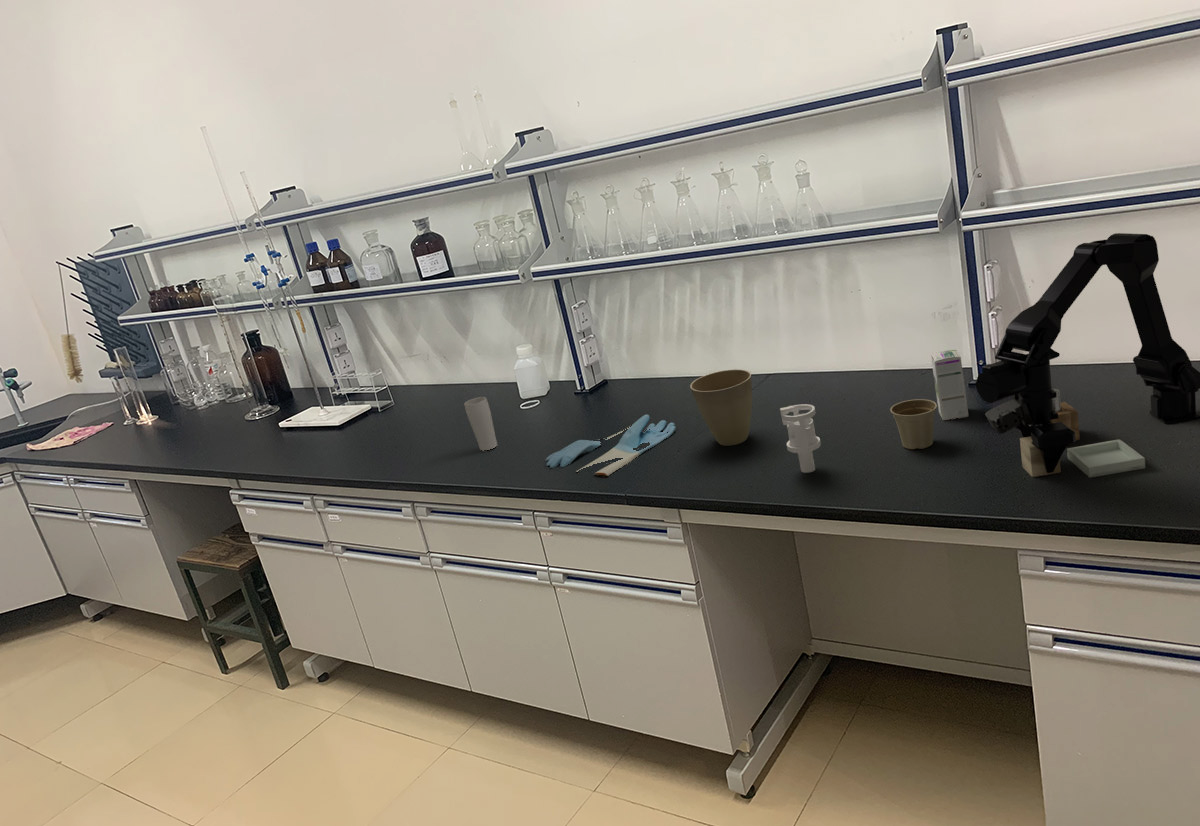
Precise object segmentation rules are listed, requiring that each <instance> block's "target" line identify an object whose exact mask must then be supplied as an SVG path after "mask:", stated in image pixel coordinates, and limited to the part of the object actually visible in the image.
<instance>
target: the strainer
mask: <svg viewBox="0 0 1200 826" xmlns="http://www.w3.org/2000/svg"><path fill="white" fill-rule="evenodd" d="M815 407H816V406H814V405H813V404H806V403H805V404H794V405H788V406H785V407H780V408H779V411H780V415H781V420H782V425H783V426H786V428H787V434H788V439H789V440H788V441H786V447H787V448H786V449H787V451H788V452H790V453H793V454H797V456H798V460H799V461H798V462H799V466H800V471H801V472H802V474H803V473H804V474H807V473H812V472H814V471H816V465H815V459H814V454H813V451H816V450H818V449H819V448H820V447H821V446H822V443H821V439H820V437H819V436H816V430H815V423H814V419H813V417H814V416H815V415H816V409H815ZM800 411H808V412H805V413H799V412H800ZM789 413H793V415H789ZM787 414H788V415H787Z"/></svg>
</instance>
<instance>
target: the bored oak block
mask: <svg viewBox="0 0 1200 826" xmlns="http://www.w3.org/2000/svg"><path fill="white" fill-rule="evenodd" d="M1060 403H1061V412H1057V413H1058V419H1052V420H1051V421H1050V422H1051V423H1057V422H1062V423H1064V424H1065V425H1067V426H1068V427H1069V428H1071V429H1072V430H1073V431H1074V432H1075V441H1079V440H1080V427H1079V426H1080V425H1079V424H1080V423H1079V412H1078V410H1076V409H1075V408H1074V407H1073V406H1072V405H1070V404H1069V403H1067V402H1066V401H1063V402H1061V401H1060Z"/></svg>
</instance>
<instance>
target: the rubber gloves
mask: <svg viewBox="0 0 1200 826" xmlns="http://www.w3.org/2000/svg"><path fill="white" fill-rule="evenodd" d="M649 421H650V415H649V414H644V415H643V416H641V417H640V418H638V419H637V420H636V421H635V422H634V423H633V424H632V426H631V425H630V426H631V427H630V426H628V427H629V428H628V427H626V428H627V429H628V430H627V431H626V432H625V433H624V434H622V435H621V436H622V437H621V438H620V439H619V441H618V442H617V444H616V445H615V446H614V447H612V448H611V449H610V450H608V451H607V452H605V453H604V454H602V455H600V456H599V457H597V458H596V459H595V460H594V459H593V461H591V462H589V463H587V464H586V465H584V466H582V467H581V468H579V469H578V470H575V473H576V472H578V471H579V470H581V469H583V468H586V467H589V466H592V465H593V464H597V463H601V462H605V461H608V460H612V459H615V458H623V459H621V460H618V461H616V462H611V463H610V464H608V465H606V466H605V467H602V468H601V469H599V470H598V471H596V472H594V473H593V475H594V474H599V475H605V476H609V475H610V474H612V473H613V472H615V471H616V470H618V469H619V468H622V467H623V466H624V465H626V464H627V465H629V464H630V463H632V462H633V461H634V460H636V459H637V458H638V456H639V455H640V456H641V455H642V454H643V453H644V452H646V451H649V450H651V449H653V448H654V446H655V445H657V444H658V443H660V442H661V441H663V440H664V439H666V438H667V439H668V438H669V437H671V436H672V435H673V434H674V433H675V431H676V430H677V428H676V424H675V423H674V422H670V423H668V424H667V421H666V420H664V419H662V420H660V421H659V422H658V423H657V424H655V423H650V424H649V425H648V423H649ZM646 425H648V426H647V427H646ZM645 427H646V429H647V430H646V429H645V430H646V431H645V430H644V431H645V432H644V431H643V429H644V428H645ZM626 428H624V429H625V430H626ZM624 429H622V430H623V431H624ZM649 429H650V430H649ZM663 429H664V430H663ZM622 430H620V431H619V432H616V433H617V434H616V433H614V434H612V435H610V436H608V437H606V438H607V439H605V438H604V439H605V440H608V439H610V438H612V437H614V436H616V435H618V434H620V433H622V432H623V431H622ZM661 430H663V432H660V431H661ZM667 432H668V433H667ZM667 439H666V440H667ZM664 441H665V440H664ZM664 441H663V442H664ZM648 442H649V443H650V445H649V446H647V447H646V448H644V449H643V448H641V449H640V450H639V449H638V450H639V451H636V450H633V448H637V447H638V446H639V445H640V444H642V443H648ZM600 443H601V442H600V441H593V440H587V439H578V440H576V441H573V442H572V443H570V444H569V445H566V446H565V447H564V448H561V449H560V450H558V451H555V452H553V453H552V454H550V455H548V456H547V457H546V458H545V460H544V462H545V461H547V460H549V461H548V462H546V464H545V466H546V467H547V466H549V465H550V467H549V469H550V468H553V467H555V466H557V465H559V464H560V465H559V467H560V468H561V467H564V466H566V465H568V464H569V465H571V464H572V462H573V461H574V460H575V459H576V458H578V457H577V456H578V455H579V454H580V453H582V452H585V451H591V450H593V449H595V448H597V447H599V446H600V445H601V444H600ZM661 443H662V442H661ZM661 443H660V444H661ZM658 445H659V444H658ZM658 445H657V446H658ZM652 447H653V448H652ZM655 447H656V446H655ZM599 448H600V447H599ZM650 448H651V449H650ZM597 449H598V448H597ZM648 449H649V450H648ZM640 456H639V457H640ZM636 457H637V458H636ZM635 458H636V459H635ZM633 459H634V460H633ZM632 460H633V461H632ZM631 461H632V462H631ZM629 462H630V463H629ZM628 463H629V464H628ZM569 465H568V466H569ZM627 465H626V466H627ZM623 468H624V467H623ZM623 468H622V469H623ZM618 471H619V470H618ZM615 473H616V472H615ZM599 475H598V476H599ZM612 475H613V474H612ZM605 476H604V477H605ZM609 477H610V476H609Z"/></svg>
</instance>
